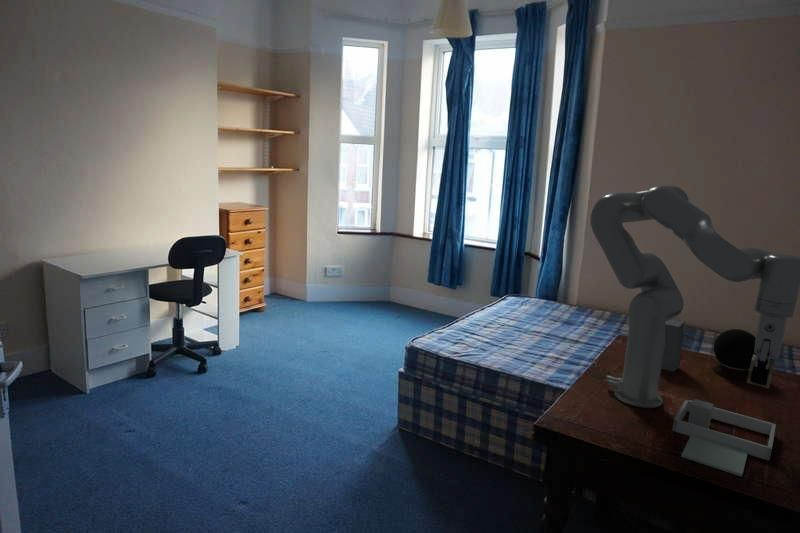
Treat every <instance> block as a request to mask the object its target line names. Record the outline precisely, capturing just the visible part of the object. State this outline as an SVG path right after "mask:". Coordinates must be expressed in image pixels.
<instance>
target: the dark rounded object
mask: <svg viewBox="0 0 800 533" xmlns="http://www.w3.org/2000/svg"><path fill="white" fill-rule="evenodd" d="M755 339H756V335H754V334H752V333H751V332H749V331H747V330H745V329H741V328H740V329H739V328H733V329H727V330H725V331H723V332H722V333H720V334H719V335H718V336H717V337H716V338H715V340H714V344H713V354H714V357H715V358H716V359H717V361H718V362H719V363H716V365H714V366H713V367H712V372H713V373H714V374H716V375H718V376H719V377H721V378H724V379H729V380H732V381H737V382H747V379H748V374H749V370H750V365H751V360H752V357H753V354H754V355H756V354H755V353H754V348H755Z"/></svg>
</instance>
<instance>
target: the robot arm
mask: <svg viewBox="0 0 800 533" xmlns="http://www.w3.org/2000/svg"><path fill="white" fill-rule="evenodd" d="M651 220H654V221H655V222H657V223H658V224H660V225H661V226H663V227H664V228H666V229H667V231H669V232H671V233H672V234H673V235H675V236H676V237H677V238H679V239H681V240H682V241H683V242H684V244H685V245H686V246H687V248H688V249H689V250H690V251H691V253H692V254H693V255H694V256H695V257H696V258H697V260H698V261H700V262H701V263H702V264H704V265H705V266H706V267H707V268H708V269H710V270H712V271H713V272H714V273H716V274H717V275H718V276H720V277H722V278H723V279H725V280H728V281H730V282H734V283H742V282H746V281H748V280H754V279H758V280H760V283H759V286H758V287H759V288H758V292H757V296H756V303H755V306H754V311H755V312H756V313H759V318H758V322H757V327H756V332H755V337H756V339H755V348H754V353H755V354H756V355H757V357H756V362H755V365H754V366H753V370H752V375H751V380H750V381H751V382H754V383H758V384H762V385H766V383H767V379H768V374H769V370H770V369H768V368H769V364H770V359H772V358H774V359H775V360H777V359H779V357H780V353H781V350H782V345H783V340H784V337H785V332H786V331H785V330H786V327H787V320H788V319H792V318H793V317H794V314H795V308H796V305H797V304H796V303H797V299H798V295H799V291H800V257H799V256H797V255H792V254H784V253H775V252H771V251H766V250H763V249H760V248H756V247H744V248H743V247H742V248H738V247H736V246H735V245H734V244H732V243H730V242H729V241H727V240H726V239H725V238H724V237H722V236H721V235H720V234H719V233H718V232H717V231H716V230H715V229H714V227H713V225H712V219H711V217H710V215H709V214H708V213H706V212H704V211H703V210H701V209H700V208H699V207H697V206H696V205H694V204H693V203H691V202H690V201H689V196H688V195H687V193H686V191H685V190H683V188H680V187H679V186H675V185H658V186H657V185H656V186H654V187H651V188H649V189H648V190H644V191H635V192H614V193H613V192H612V193H609V194H606V195H603V196H602V197H600V198H599V199H598V200H597V201H596V203H594V206H593V207H592V210H591V214H590V226H591V230H592V233H593V235H594V237H595V239H596V241H597V243H598V244H599V245H600V247H601V249H602V251H603V253H604V255H605V257H606V259H607V262H608V263H609V265H610V267H611V269H612V271H613V273H614V275H615V276H616V279H617V280H618V282H619V284H620V285H621V286H622V287H623V288H625V289H629V290H630V289H631V290H634V289H640V290H641V292H639V293H637V294H636V295H635V296H634V297H633V298H632V299H631V301H630V303H629V306H628V332H627V333H628V334H627V340H626V350H625V355H624V356H625V357H624V362H623V370H622V375H621V377H618V378H617V377H614V376H612V375H606V378H605V382H607V385H608V386H613V387H615V388H614V392H613V395H614V396H615V397H616V399H618V400H619V401H621V402H623V403H625V404H627V405H628V406H629V405H630V406H633V407H638V408H644V409H646V408H647V409H654V408H658V407H660V406H662V404H663V397H662V396H661V394H658V391H659V390H658V389H659V385H660V379H661V371H662V369H661V367H662V360H663V354H664V347H665V338H666V335H665V322H666V321H668V320H673V319H675V318H677V317H679V316H680V315H681V313H682V311H683V309H684V305H685V304H684V298H683V294H682V293H681V291H680V289H679V287H678V286H677V283H676V282H675V280H674V279H673V276H672V275H671V273H670V271H669V269H668V268H667V266H666V264H665V262H663V260H662V259H661V258H660V257H658V256H657V255H656V254H653V253H650V252H641V251H640V249H639V247H638V246H637V245H636V243H635V240H634V238H633V237H632V235H631V234H630V233H629V232H628V230H627V229H625V227H624V226H623V224H624V223H634V222H641V221H651ZM759 357H760V358H759ZM766 358H767V359H768V360H766ZM757 365H758V366H757Z"/></svg>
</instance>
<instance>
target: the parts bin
mask: <svg viewBox="0 0 800 533" xmlns="http://www.w3.org/2000/svg"><path fill="white" fill-rule="evenodd" d="M692 402H693V400H690V399H687V398H686V399H685V400H684V402H683V403H682V405H681V407H680V408H679V410H678V412H677V413H676V415H675V417H674V419H673V422H672V428H671V431H672V432H675V433H679V434H681V435H685V436H688V437H690V436H691V435H694V436H698V437H701V438H704V439H707V440H710V441H714V442H717V443H720V444H723V445H727V446H730V447H733V448H736V449H740V450H743V451H746V452H748V454H747V455H749V456H752V457H756V458H759V459H762V460H766V461H768V462H770V459H771V455H772V449H773V444H774V440H775V439H774V437H775V434H776V428H777V427H776V426H777V424H776V423H773V422H770V421H765V420H762V419H759V418H755V417H751V416H748V415H744V414H740V413H736V412H733V411H731V410H726V409H722V408H718V407H716V406H713V410H712V416H711V420H712V419H713V420H716V421H719V422H722V423H725V424H729V425H733V426H736V427H740V428H743V429H747V430H749V431H750V430H751V431H753V432H757V433H761V434H763V435H768V436H769V438H768V443H767V445H764V444H762V443H757V442H754V441H751V440H748V439H744V438H741V437H738V436H735V435H732V434H727V433H724V432H721V431H718V430H716V429H715V430H714V429H711V428H709V429H708V428H705V427H701V426H698V425H695V424H691V423H688V421H684V420H683V419H684V416H685V415H686V413H687V412H689V413H690V408H691V404H692Z"/></svg>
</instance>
